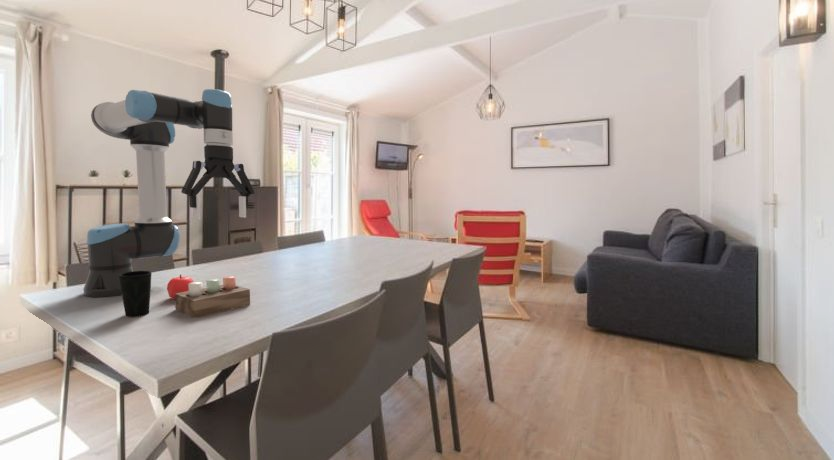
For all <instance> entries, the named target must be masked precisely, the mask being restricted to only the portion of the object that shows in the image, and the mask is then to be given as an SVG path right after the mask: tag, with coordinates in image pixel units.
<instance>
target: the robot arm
mask: <svg viewBox="0 0 834 460" xmlns="http://www.w3.org/2000/svg"><path fill="white" fill-rule="evenodd" d="M201 96H202V97H201V100H199V101H196V100H191V99H187V98H180V97H176V96H169V95H164V94H159V93H155V92H150V91H147V90H138V89H137V90H136V89H131V90H129V91H128V92H127V93H126V96H125V99H124V100H121V101H117V102H113V101H104V102H101V103H99V104H97V105H95V106H94V107H93V108H92V110H91V113H90V117H91V122H92V123H93V125H94V126H95V128H96V129H97V130H99V131H100V132H101V133H103V134H105V135H106V136H109V137H112V138H116V139H121V140H129V141H130V147H131V148H132V149H134V150H135V156H136V159H135V160H136V175H137V195H138V196H137V197H138V198H137V199H138V214H139V216H138V218H137V219H136V220H134V226H130V224H129V223H125V222H123V223H112V224H106V225H101V226H99V225H98V226H95V227H92V228H90V229H89V230H88V231H87V234H86V235H87V237H86V245H87V255H88V256H87V257H88V269H89V272H88V275H87V278H86V280H85V284H84V287H83V295H84V296H86V297H91V298H101V297H102V298H104V297H105V298H106V297H113V296H122V292H121V287H120V281H119V274H122V273H126V272H132V271H134V270H133V265H132V262H133V261H132V260H141V259H148V258H157V257H158V258H162V257H164V256H171V255H173V254H174V253H176V251H177V249H178V247H179V244H180V231H179V228H178V226H177V225H176V224H173V220H172V219H171V218H170V217H168V208H167V207H168V205H167V204H168V203H167V183H166V162H165V161H166V160H165V159H166V157H165V152H166V151H168V149H169V148H170V145H171V144H173V143H174V141H175V137H176V128H175V125H178V126H186V127H188V128H191V129H198V130H199V129H200V130H202V129H203V143H204V146H203V150H204V162H203V161H200V160H193V161H192V169H191V170H190V172H189V174H188V177H187V178H186V180H185V183H184V184H183V187H182V189H181V194H184V195H186V196H188V197H189V198H188V199H189V200H188V202H189V207H190V208H192V219H193V220H198V221H199V220H201V216H202V215H201V197H200V196H199V195H198V194H199V193H201V191H202V190H203V188H204V187H205V186H206V185H207V184H208V183H209V181H210V180H211V179H213V178H216V179H218V178H220V179H227V180H228V181H229V182H230V183H231V184H232V186H233V187H234V188H235V190H236V191H237V192H238V193H239V194H240V196H238V217H239V218H247V207H248V206H249V197H250V196H251V195H253V194H255V191H254V189H253V186H252V184H251V183H250V180H249V179H248V176H247V174H246V172H245V167H244V164H243V163H236V164H234V147H233V144H234V143H233V142H234V141H233V139H234V138H233V135H234V134H233V103H232V95H231V94H230V92H228V91H225V90H221V89H214V88H209V89H208V88H207V89H204V90H203V91H202V95H201ZM203 168H204V169H205V170H206V171H205V172H204V173H203V174H202V176H201V177H200V179H199V180H198V181H197V179H198V176H199V175H200V173H201V171H202V169H203ZM233 170H234V172H236V174H237V176H238V178H239V179H238V178H237V176H236V175H235V173H234V172H233ZM196 181H197V182H196ZM194 184H195V185H194Z"/></svg>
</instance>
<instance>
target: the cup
mask: <svg viewBox="0 0 834 460" xmlns="http://www.w3.org/2000/svg"><path fill="white" fill-rule="evenodd" d="M119 281H120V287H121V292H122V295H121V297H122V303H123V304H122V305H123V308H124V315H125V317H127V318H138V317H143V316H146V315H149V314H150V305H151V304H150V303H151V287H152V285H151V284H152V271H150V270H133V271H132V272H126V273H122V274H119Z"/></svg>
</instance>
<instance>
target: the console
mask: <svg viewBox="0 0 834 460" xmlns="http://www.w3.org/2000/svg"><path fill="white" fill-rule="evenodd" d="M202 288H203V287H202ZM174 305H175V306H174V307H175V309H174V310H176V311H178V312H179V313H182V314H185V315H186V316H189V317H191V318H194V319H196V318H202V317H204V316H208V315H213V314H217V313H222V312H225V311H229V310H234V309H237V308H242V307H246V306H250V305H251V289H250V288H247V287H244V286H240V285H237V284H236V289H232V290H227V291H226V290H223V284H220V292H217V293H212V294H208V293H207V287H204V288H203V296H198V297H193V298H191V297H189V291H186V292H181V293H176V294H175V299H174Z"/></svg>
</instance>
